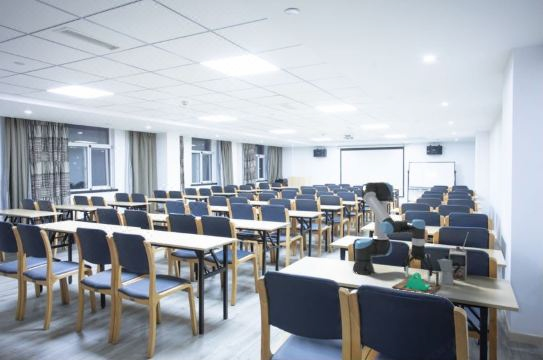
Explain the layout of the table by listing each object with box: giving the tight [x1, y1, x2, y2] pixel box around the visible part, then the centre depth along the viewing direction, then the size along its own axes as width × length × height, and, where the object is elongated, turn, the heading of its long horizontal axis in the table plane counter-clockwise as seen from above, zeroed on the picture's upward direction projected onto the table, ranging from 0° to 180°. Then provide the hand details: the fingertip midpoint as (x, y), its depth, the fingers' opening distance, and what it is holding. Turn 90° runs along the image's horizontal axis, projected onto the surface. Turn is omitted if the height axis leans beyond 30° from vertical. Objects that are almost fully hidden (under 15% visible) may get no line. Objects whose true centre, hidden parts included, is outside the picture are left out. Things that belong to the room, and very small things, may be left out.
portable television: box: [448, 231, 469, 281], centre depth 250 cm, size 12×24×30 cm, turn 152°
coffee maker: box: [436, 254, 461, 285], centre depth 236 cm, size 15×9×18 cm, turn 45°
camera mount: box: [405, 272, 430, 292], centre depth 225 cm, size 12×8×10 cm, turn 50°
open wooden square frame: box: [391, 271, 441, 295], centre depth 226 cm, size 22×21×10 cm
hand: (417, 278), depth 226 cm, fingers open, 13 cm apart
